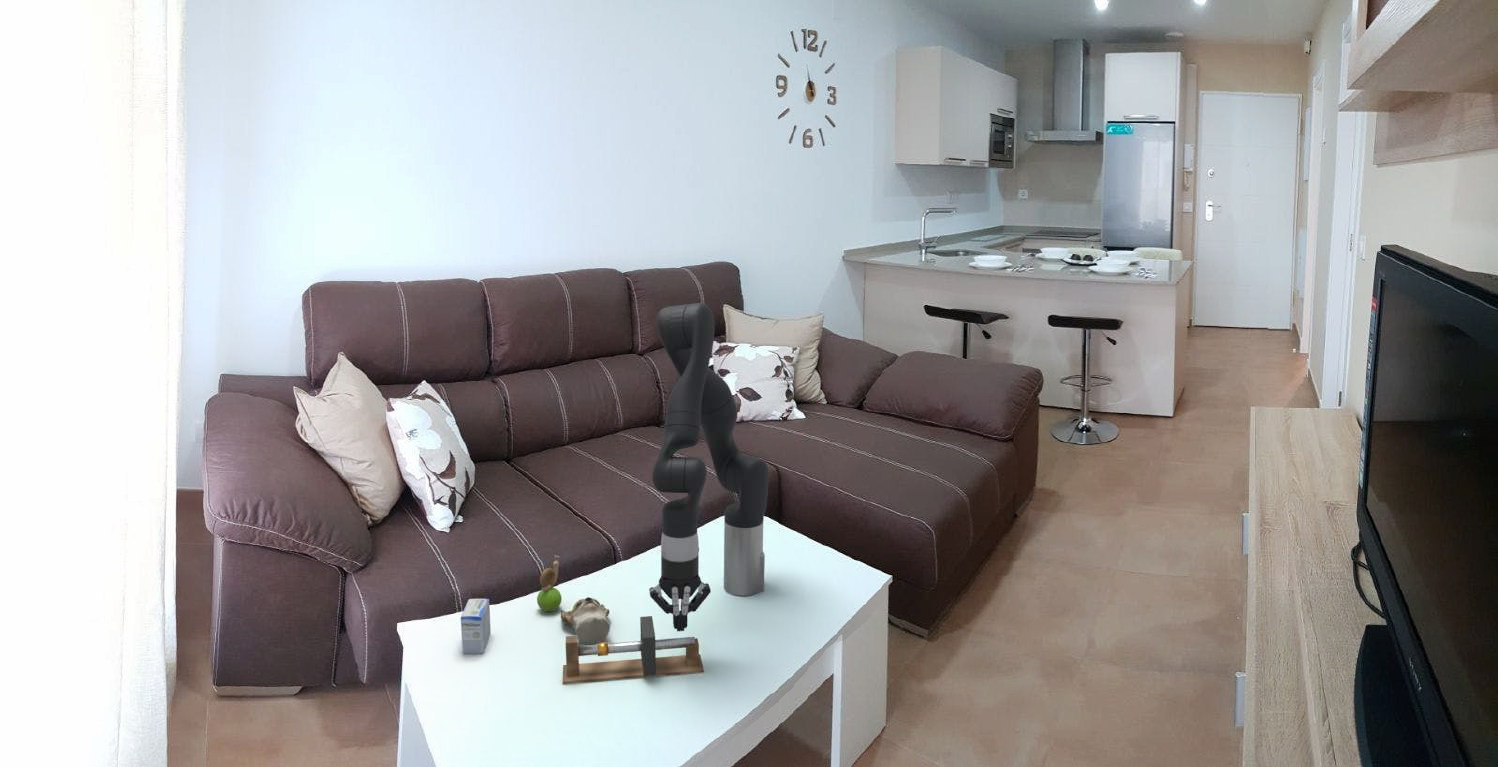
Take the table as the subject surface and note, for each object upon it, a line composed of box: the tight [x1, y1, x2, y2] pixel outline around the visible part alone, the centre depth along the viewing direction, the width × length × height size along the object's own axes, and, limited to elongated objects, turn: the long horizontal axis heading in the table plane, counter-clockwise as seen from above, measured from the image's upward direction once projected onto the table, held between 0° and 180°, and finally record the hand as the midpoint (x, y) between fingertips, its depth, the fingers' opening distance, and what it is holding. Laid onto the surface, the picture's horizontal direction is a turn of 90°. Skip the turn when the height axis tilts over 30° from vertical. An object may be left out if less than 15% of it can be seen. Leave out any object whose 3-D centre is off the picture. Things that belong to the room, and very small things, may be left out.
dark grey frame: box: [639, 615, 657, 676], centre depth 189 cm, size 2×8×8 cm, turn 10°
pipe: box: [578, 636, 696, 657], centre depth 188 cm, size 25×3×3 cm, turn 100°
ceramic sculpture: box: [560, 596, 611, 645], centre depth 203 cm, size 11×9×15 cm
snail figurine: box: [536, 555, 562, 612], centre depth 212 cm, size 5×6×12 cm
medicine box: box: [460, 598, 491, 655], centre depth 197 cm, size 8×4×9 cm, turn 5°
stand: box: [562, 635, 705, 685], centre depth 189 cm, size 28×6×8 cm, turn 100°
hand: (680, 629), depth 193 cm, fingers closed
